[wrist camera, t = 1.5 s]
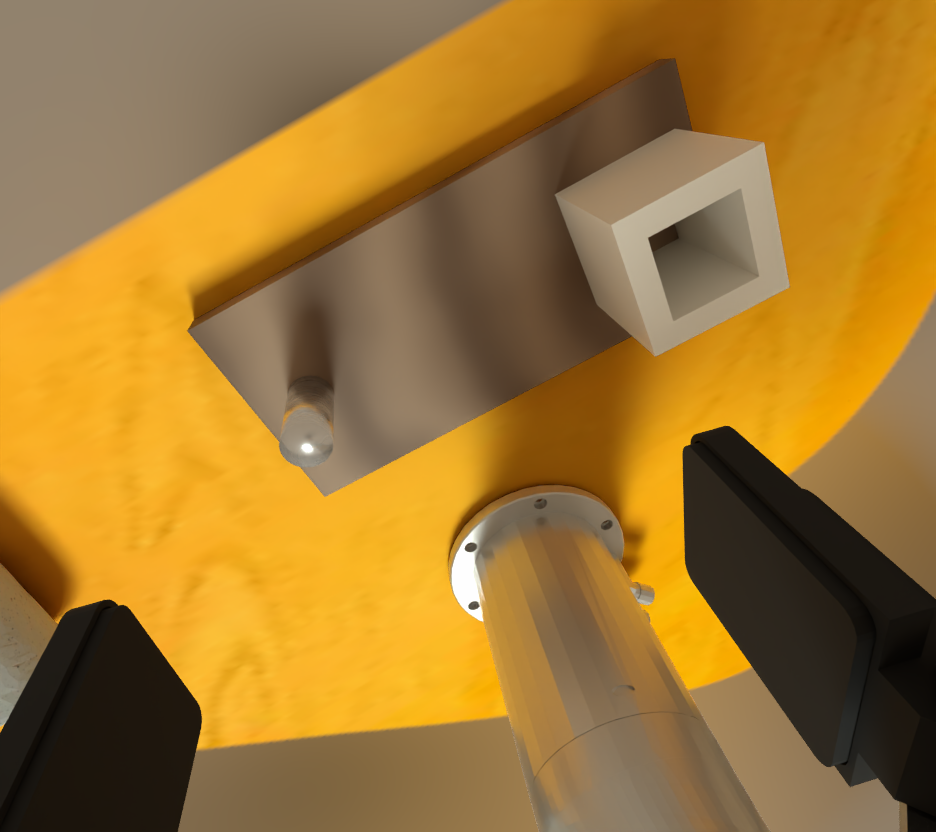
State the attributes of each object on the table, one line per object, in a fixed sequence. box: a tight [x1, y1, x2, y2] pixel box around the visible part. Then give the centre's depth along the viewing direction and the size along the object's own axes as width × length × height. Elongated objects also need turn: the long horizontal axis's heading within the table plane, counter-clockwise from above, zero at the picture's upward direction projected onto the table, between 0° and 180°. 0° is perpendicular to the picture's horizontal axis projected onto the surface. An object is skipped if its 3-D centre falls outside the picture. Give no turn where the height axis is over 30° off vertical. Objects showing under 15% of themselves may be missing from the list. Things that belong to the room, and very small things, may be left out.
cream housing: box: [555, 129, 790, 357], centre depth 27 cm, size 6×6×7 cm
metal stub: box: [279, 376, 334, 467], centre depth 29 cm, size 2×2×5 cm
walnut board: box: [188, 59, 692, 496], centre depth 32 cm, size 26×12×2 cm, turn 116°
